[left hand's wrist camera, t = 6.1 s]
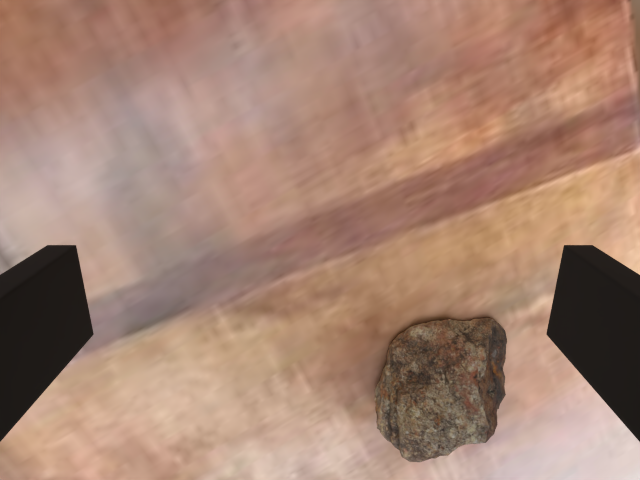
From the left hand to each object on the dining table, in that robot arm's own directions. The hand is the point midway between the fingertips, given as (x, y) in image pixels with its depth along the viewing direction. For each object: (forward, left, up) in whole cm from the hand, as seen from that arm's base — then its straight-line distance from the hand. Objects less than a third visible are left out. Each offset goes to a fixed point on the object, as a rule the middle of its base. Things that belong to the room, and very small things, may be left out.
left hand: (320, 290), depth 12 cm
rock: (+25, -2, -28) cm, 38 cm away
